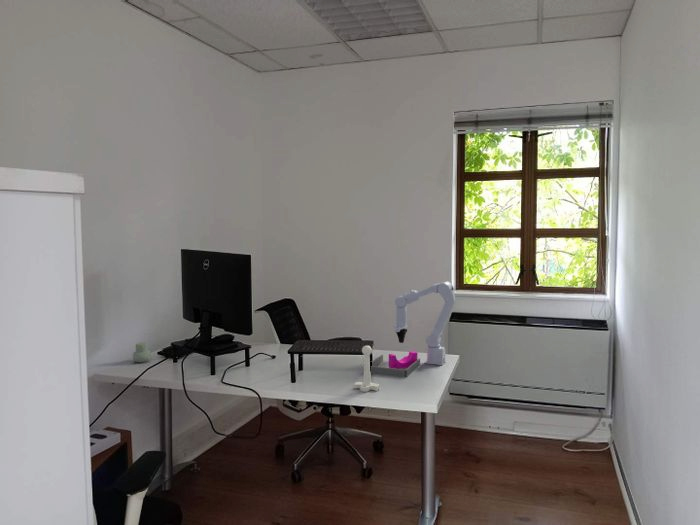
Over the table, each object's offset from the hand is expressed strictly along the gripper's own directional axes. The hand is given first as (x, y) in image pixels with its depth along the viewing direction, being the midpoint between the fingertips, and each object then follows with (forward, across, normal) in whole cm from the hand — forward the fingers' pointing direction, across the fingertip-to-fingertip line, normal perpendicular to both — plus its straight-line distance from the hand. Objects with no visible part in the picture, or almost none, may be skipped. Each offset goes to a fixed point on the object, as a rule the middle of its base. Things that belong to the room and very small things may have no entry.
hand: (401, 342), depth 291 cm
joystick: (+10, +55, +1) cm, 55 cm away
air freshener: (+10, +55, -132) cm, 143 cm away
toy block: (+10, +13, +4) cm, 17 cm away
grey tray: (+10, +18, +2) cm, 21 cm away
